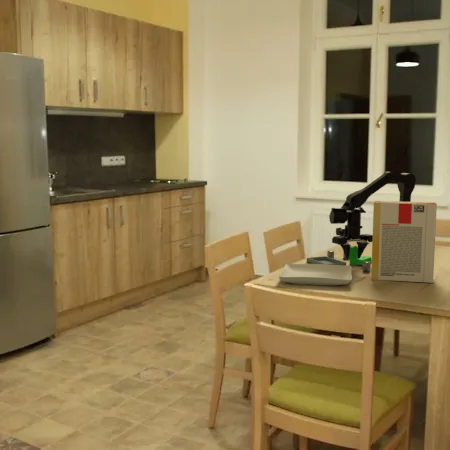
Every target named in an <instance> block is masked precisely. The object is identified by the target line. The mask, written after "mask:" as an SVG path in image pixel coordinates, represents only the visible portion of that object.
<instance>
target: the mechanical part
mask: <svg viewBox="0 0 450 450" xmlns="http://www.w3.org/2000/svg"><path fill="white" fill-rule="evenodd" d="M348 260H349V266H363V262H365V261H367V262H371V263H372V256H371V255H370V256H368V255H367V256H363V255H361V257H360V258H358V245H351V246H350V253H349V259H348Z"/></svg>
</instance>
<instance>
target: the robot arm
mask: <svg viewBox="0 0 450 450" xmlns="http://www.w3.org/2000/svg"><path fill="white" fill-rule="evenodd" d="M391 182H393V183H397V188H398V192H399V201H398V202H412V201H411V200H412V193H413V192H414V190H415V187H416V183H417V178H416V176H415V174H413V173H407V172H402V173H395V172H393V171H384V172H383V173H382V174H381V175H380V176H379V177H377V178H375V179H374V180H373V181H372V182H370V183H369V184H367V185H366V186H365V187H363V188H361V189H359V190H357V191H353V192H351V193H350V194H348V195H347V196H346V198H345V201H344V203H343V204H342V206H341V207H337V208H336V207H331V210H330V213H329V217H328V218H329V223H330V224H331V225H334V224H335V225H339V224H345V223H346V224H345V225H344V228H342V227H337V228H335V235H336V236H333V237H332V238H331V243H332V244H335V245H338V246H340V247H341V248H342V252H343V251H344V254H345V257H346V259H345V260H349V259H348V258H349V253H350V246H352V245H351V244H350V242H355V243H356V246H357V247H358V258H360V257H361V256H363V253H364V251H365V249H366V248H367V246H368V245H370V243H372V240H373V234H370V233H362V234H361V229H363V226H362V224H361V221H362V214H365V213H367V212H366V210H365V209H364V208H363V207H362V206H363V205H364V204H365V203H366V202H367V201H368V199H369V198H370V197H371V196H372V195H373V194H375V193H376V192H378V191H379V190H380V189H382V188H383V187H385V186H386V185H388V184H389V183H391Z"/></svg>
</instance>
